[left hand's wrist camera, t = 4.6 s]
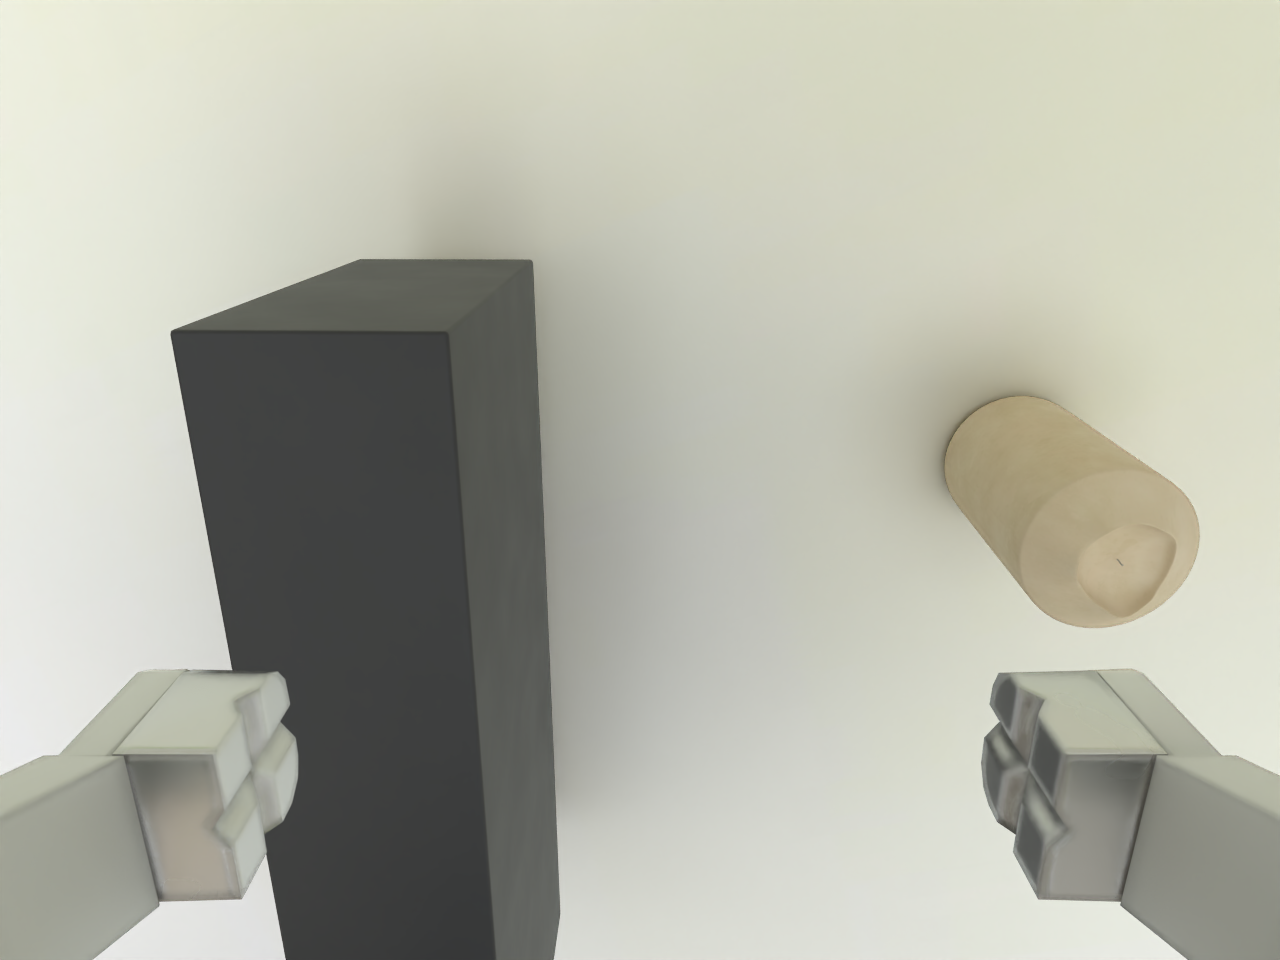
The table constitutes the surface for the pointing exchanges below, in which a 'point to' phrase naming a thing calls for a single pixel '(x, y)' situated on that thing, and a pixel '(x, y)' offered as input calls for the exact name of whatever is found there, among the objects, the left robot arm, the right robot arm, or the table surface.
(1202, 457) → the table surface
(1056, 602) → the candle
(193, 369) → the box
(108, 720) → the left robot arm
